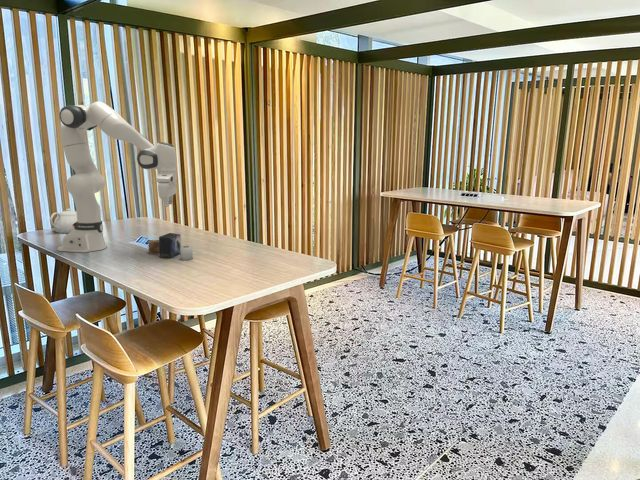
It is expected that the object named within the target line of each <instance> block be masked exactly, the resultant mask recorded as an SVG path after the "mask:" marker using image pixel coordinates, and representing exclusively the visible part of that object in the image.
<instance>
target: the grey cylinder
mask: <svg viewBox="0 0 640 480" xmlns="http://www.w3.org/2000/svg"><path fill="white" fill-rule="evenodd" d="M179 256H180V260H181V261H190V260H193V246H192V245H183V246H182V245H181V247H180V254H179Z"/></svg>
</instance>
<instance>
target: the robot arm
mask: <svg viewBox="0 0 640 480" xmlns="http://www.w3.org/2000/svg"><path fill="white" fill-rule="evenodd" d="M58 115H59V120H60V122H61V126H60V127H59V134H60V141H61V144H62V145H61V146H62V150H63V152H64V155H65V160H66V161H67V164H68V165H69V166H70V167H71V168H72V170H73V171H74V173H75V174H73V175H71V176H70V177H69V178H68V179H67V180H66V181H65V182H66V183H65V188H66V190H67V191H68V192H69V194H71V198H72V200H73V202H74V204H75V205H74V206H75V211H76V213H77V222H76V223H74V224H72V225H73V226H74V230H72V231H71V232H70V233H66V235H65V236H63V238H62V244H61V245H60V246H58V247H57V251H58V252H69V253H72V252H73V253H90V252H95V251H101V250H105V249H107V244H106V241H105V238H104V233H103V232H104V225H103V221H102V212H101V211H102V210H101V205H100V204H99V203H98V201H97V198H96V194H97V193H100V192H101V191H102V189H103V188H105V186H106V179H105V177H104V176H103V175H102V174H101V173H100V172H99V170H98V168H97V165H96V164H95V162H94V160H93V158H92V155H91V151H90V148H89V144H88V141H87V139H86V131H89V132H91V130H93V129H95V128H97V127H98V128H99V129H100V130H101V131H102V132H104V134H105V135H107V136H108V137H110V138H111V139H115V140H118V141H123V142H127V143H130V144H132V145H134V146H135V147H136V148H138V150H140V151H139V152H138V153H137V156H136V161H137V163H138V165H139V167H140V168H142V169H144V170H157V171H156V173H157V175H156V179H155V180H156V183H157V189H158V190H157V191H158V197H159V199H162V200H163V206H164V207H165V208H166V207H169V205H173V203H174V202H173V199H174V196H175V195H176V194H177V184H176V182H177V181H178V171H177V166H176V165H177V153H176V152H177V151H176V148H175V145H173V144H172V143H168V142H162V141H161V142H160V141H159V142H157V143H156V144H154V143H153V142H152V141H150V140H149V139H148V138H147V137H145V136H144V135H143V134H142V133H140V131H138V130H136V128H135V127H133V126H132V125H131V124H130V123H129V122H128V121H127V120H125V119H124V117H122V116H121V115H120V114H119V113H118V112H117V111H116V110H114V109H113V108H112V107H111V106H109V105H108V104H106V103H104V102H103V101H100V100H99V101H94V102H93V103H91V104H89V105H88V104H74V105H73V104H69V105H65V106H64V107H62V108H61V109H60V111H59V114H58ZM95 193H96V194H95Z"/></svg>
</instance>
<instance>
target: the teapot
mask: <svg viewBox="0 0 640 480" xmlns="http://www.w3.org/2000/svg"><path fill="white" fill-rule="evenodd" d="M55 215H57V216H56V217H55V219H54V216H55ZM53 219H54V220H53ZM76 222H77V213H76V210H72V208H66V210H63V211H61V212H60V213H59V212H53V213H52V214H51V215H50V217H49V223H50V225H51V226H52V227H53V230H54V232H56V233H58V234H59V233H60V234H68V233H70V232H71V231H72V230H74V226H73V225H72V224H74V223H76Z"/></svg>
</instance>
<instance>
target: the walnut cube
mask: <svg viewBox="0 0 640 480" xmlns="http://www.w3.org/2000/svg"><path fill="white" fill-rule="evenodd" d="M147 242H148V255H159V239H149V240H148V241H147Z"/></svg>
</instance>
